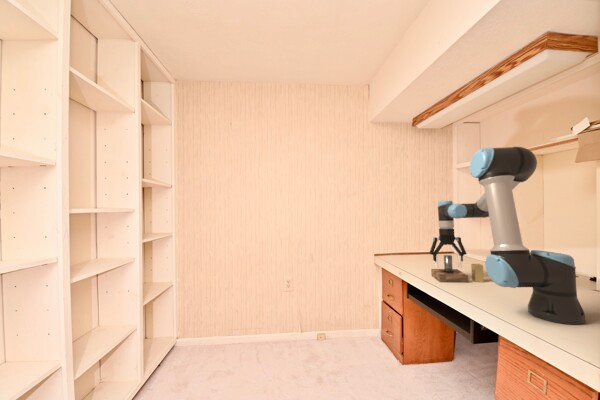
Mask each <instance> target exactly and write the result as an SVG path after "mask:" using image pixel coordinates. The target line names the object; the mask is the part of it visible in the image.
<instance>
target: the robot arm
mask: <svg viewBox="0 0 600 400" xmlns="http://www.w3.org/2000/svg"><path fill="white" fill-rule="evenodd" d="M537 165H538V160H537V157H536V155H535V153H534V152H532V150H530V149H528V148H527V147H522V146H513V147H509V146H507V147H506V146H505V147H488V148H487V147H486V148H480V149H478V150H477V151H475V153H474V154H473V156H472V157H471V159H470V164H469V172H470V173H469V174H471V176H472V177H473V178H476V179H477V180H478V184H479V185H480V186H483V188H484V193H483V194H482V195H481V197H480V198H479V199H478V200H476V202H475V203H454V202H453V200H440V201H438V203H437V214H438V216H437V217H438V227H439V229H438V234H439V235H438V237H435V236H434V237H433V239H432V240H433V241H432V244H431V247H430V250H429V254H430V255H432V258H433V259H432V261H434V263H435V267H436V269H440V268H439V255H438V253H439V252H440V251H441V249H442V247H443V246H452V247H453V248H454V249H455V251H456V253H457V267H458V268H459V269H461V268H462V262H464V256H465V255H467V254H468V253H467V252H466V250H465V246H464V244H463V243H462V238H461V237H460V236H459V237H458V236H455V223H454V222H455V220H454V219H470V218H471V219H475V218H479V219H481V218H482V219H483V218H484V219H485V218H489V222H490V229H491V234H492V241H493V247H492V248H491V249H490V250H489V251H490V254H489V255H488V256H487V257H486V258H485V261H484V265H485V266H484V267H485V270H486V273H487V275H488V277H489V278H490V279H491V280H492V281H493V283H494V284H496V285H497V286H499V287H502V288H509V289H510V288H511V289H516V288H532V294H531V295H530V299H529V301H528V304H527V311H528V313H529V314H530V315H532V316H534V317H536V318H539V319H542V320H546V321H549V322H553V323H558V324H565V325H584V324H585V323H587V320H586V319H587V318H586V317H587V316H586V313H585V311H584V309H583V307H582V306H581V303H580V301H579V299H578V295H577V294H578V292H577V291H578V290H577V274H576V273H577V272H576V266H575V259H574V257H573V256H572V255H569V254H565V253H561V252H553V251H545V250H537V249H532V250H530V249H529V248H528V247H526V246H524V244H523V239H522V233H521V229H520V225H519V224H520V223H519V220H518V215H517V209H516V204H515V203H516V202H515V198H514V193H513V190H514V189H515V188H516V187H517V186H518V185H519V184H521V183H524V182H526V181H527V180H528V179H530V178H531V177H532V175H533V174H534V173H535V171H536V170H537V167H538V166H537ZM439 241H440V242H439ZM455 241H456V242H457V245H456V243H455ZM438 242H439V244H438V245H437V243H438ZM436 246H437V247H436ZM458 246H459V247H458Z"/></svg>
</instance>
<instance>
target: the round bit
mask: <svg viewBox="0 0 600 400" xmlns="http://www.w3.org/2000/svg"><path fill="white" fill-rule="evenodd" d="M443 265H444V266H443V267H444V268H443V269H444V270H445V272H446V273H453V269H454V267H453V256H452V255H451V254H450V255H449V254H444V255H443Z"/></svg>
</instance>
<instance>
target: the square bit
mask: <svg viewBox="0 0 600 400" xmlns="http://www.w3.org/2000/svg"><path fill="white" fill-rule="evenodd" d="M470 268H471V270H470V271H471V281H473V282H474V283H485V281H484V280H485V279H484V265H483V264H481V263H471V264H470Z"/></svg>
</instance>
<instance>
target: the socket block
mask: <svg viewBox="0 0 600 400" xmlns="http://www.w3.org/2000/svg"><path fill="white" fill-rule="evenodd" d="M430 272H431V277H433V279H435V280H436V281H438V282H439V283H469V275H468V274H466V273H465V272H463V271H461V270H459V269H457V268H456V269H455V268H453V273H446V272H445V270H444V268H431V271H430Z"/></svg>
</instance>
